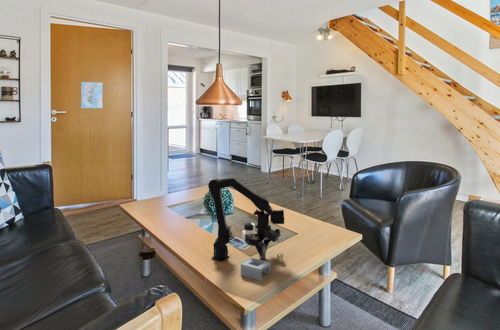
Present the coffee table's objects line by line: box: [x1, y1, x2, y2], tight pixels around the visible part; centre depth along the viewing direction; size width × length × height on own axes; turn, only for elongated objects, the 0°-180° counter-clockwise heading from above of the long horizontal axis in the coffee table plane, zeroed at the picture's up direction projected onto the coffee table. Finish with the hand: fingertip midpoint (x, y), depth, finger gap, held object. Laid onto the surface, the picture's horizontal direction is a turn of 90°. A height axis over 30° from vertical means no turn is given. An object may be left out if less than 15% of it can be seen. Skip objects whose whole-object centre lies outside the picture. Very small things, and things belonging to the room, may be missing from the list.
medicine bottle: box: [241, 222, 258, 242], centre depth 173 cm, size 7×7×12 cm
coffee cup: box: [138, 247, 157, 261], centre depth 153 cm, size 9×8×13 cm
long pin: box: [259, 242, 267, 261], centre depth 148 cm, size 3×3×9 cm
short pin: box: [276, 253, 284, 264], centre depth 145 cm, size 3×3×4 cm
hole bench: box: [240, 257, 272, 282], centre depth 133 cm, size 10×9×5 cm
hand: (262, 254), depth 148 cm, fingers closed on long pin, 3 cm apart
